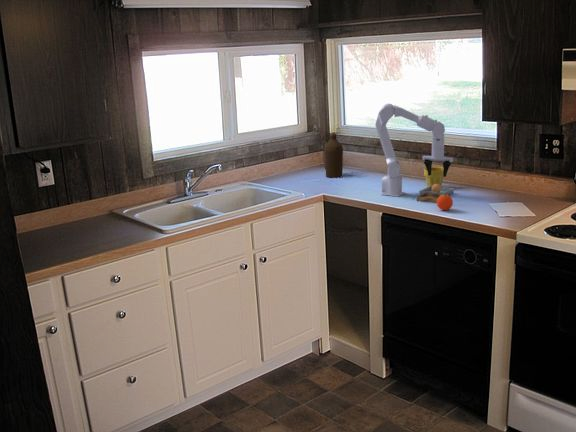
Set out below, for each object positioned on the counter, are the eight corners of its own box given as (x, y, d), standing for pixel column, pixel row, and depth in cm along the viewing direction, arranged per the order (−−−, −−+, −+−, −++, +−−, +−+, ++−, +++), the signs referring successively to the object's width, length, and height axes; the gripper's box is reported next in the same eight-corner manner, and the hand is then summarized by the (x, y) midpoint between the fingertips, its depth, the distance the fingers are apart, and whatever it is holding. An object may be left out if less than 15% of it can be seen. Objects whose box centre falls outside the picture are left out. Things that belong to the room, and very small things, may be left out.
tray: (417, 200, 295) (417, 196, 295) (425, 196, 302) (425, 192, 301) (438, 203, 289) (439, 199, 288) (447, 199, 295) (447, 195, 295)
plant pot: (436, 190, 313) (436, 171, 310) (419, 188, 320) (419, 169, 318) (448, 187, 319) (449, 168, 317) (432, 184, 327) (432, 166, 324)
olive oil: (347, 175, 359) (346, 131, 352) (336, 178, 351) (335, 134, 344) (331, 173, 365) (330, 130, 359) (321, 177, 357) (319, 133, 351)
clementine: (431, 210, 278) (431, 194, 276) (438, 207, 283) (439, 191, 281) (448, 212, 273) (448, 197, 271) (455, 209, 278) (455, 193, 276)
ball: (429, 193, 305) (430, 184, 304) (433, 191, 309) (434, 182, 308) (438, 194, 303) (439, 185, 301) (442, 192, 306) (442, 183, 305)
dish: (419, 195, 305) (419, 190, 304) (430, 190, 314) (430, 185, 313) (442, 198, 298) (443, 193, 297) (453, 193, 307) (453, 188, 306)
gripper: (420, 148, 300) (419, 176, 303) (449, 150, 292) (448, 178, 295) (426, 146, 305) (425, 173, 309) (454, 147, 297) (454, 175, 301)
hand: (437, 175), depth 303 cm, fingers open, 7 cm apart
